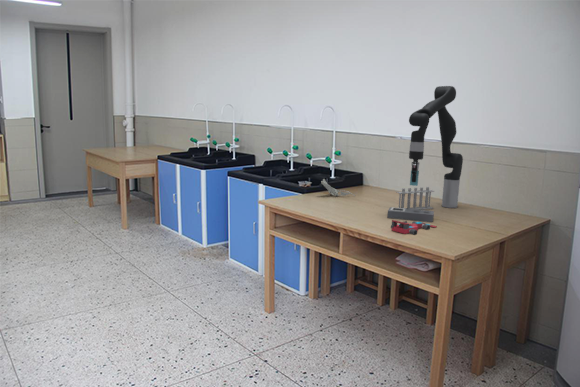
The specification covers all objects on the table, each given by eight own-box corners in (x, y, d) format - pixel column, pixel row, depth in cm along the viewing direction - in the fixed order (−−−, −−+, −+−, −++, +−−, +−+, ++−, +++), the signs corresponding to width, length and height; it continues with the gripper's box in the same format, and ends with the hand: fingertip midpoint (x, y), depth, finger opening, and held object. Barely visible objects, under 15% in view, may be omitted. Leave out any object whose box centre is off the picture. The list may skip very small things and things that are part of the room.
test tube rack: (399, 211, 282) (400, 189, 280) (394, 210, 286) (396, 188, 284) (433, 208, 292) (434, 187, 290) (428, 207, 296) (430, 186, 294)
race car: (441, 217, 244) (410, 224, 229) (440, 229, 245) (409, 236, 230) (418, 212, 255) (387, 218, 240) (418, 223, 256) (386, 230, 241)
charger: (410, 184, 268) (411, 170, 267) (417, 184, 267) (419, 170, 266) (409, 185, 265) (410, 170, 263) (417, 185, 263) (418, 171, 262)
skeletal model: (356, 196, 326) (337, 173, 312) (349, 207, 324) (329, 184, 310) (340, 192, 339) (321, 169, 325) (333, 202, 337) (313, 180, 323)
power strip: (389, 214, 275) (390, 206, 274) (433, 218, 267) (433, 210, 267) (387, 217, 266) (387, 210, 265) (432, 222, 258) (433, 214, 257)
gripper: (423, 151, 255) (420, 183, 258) (424, 149, 268) (421, 180, 271) (408, 150, 257) (405, 182, 260) (410, 149, 270) (408, 179, 273)
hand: (413, 181), depth 265 cm, fingers closed on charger, 4 cm apart
